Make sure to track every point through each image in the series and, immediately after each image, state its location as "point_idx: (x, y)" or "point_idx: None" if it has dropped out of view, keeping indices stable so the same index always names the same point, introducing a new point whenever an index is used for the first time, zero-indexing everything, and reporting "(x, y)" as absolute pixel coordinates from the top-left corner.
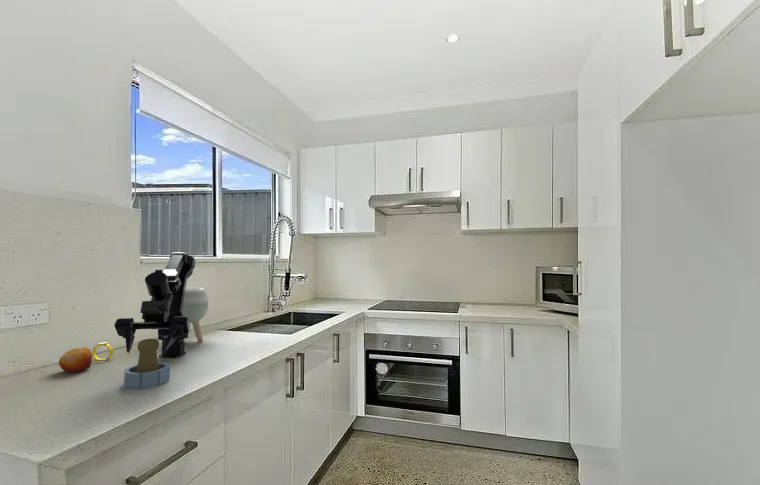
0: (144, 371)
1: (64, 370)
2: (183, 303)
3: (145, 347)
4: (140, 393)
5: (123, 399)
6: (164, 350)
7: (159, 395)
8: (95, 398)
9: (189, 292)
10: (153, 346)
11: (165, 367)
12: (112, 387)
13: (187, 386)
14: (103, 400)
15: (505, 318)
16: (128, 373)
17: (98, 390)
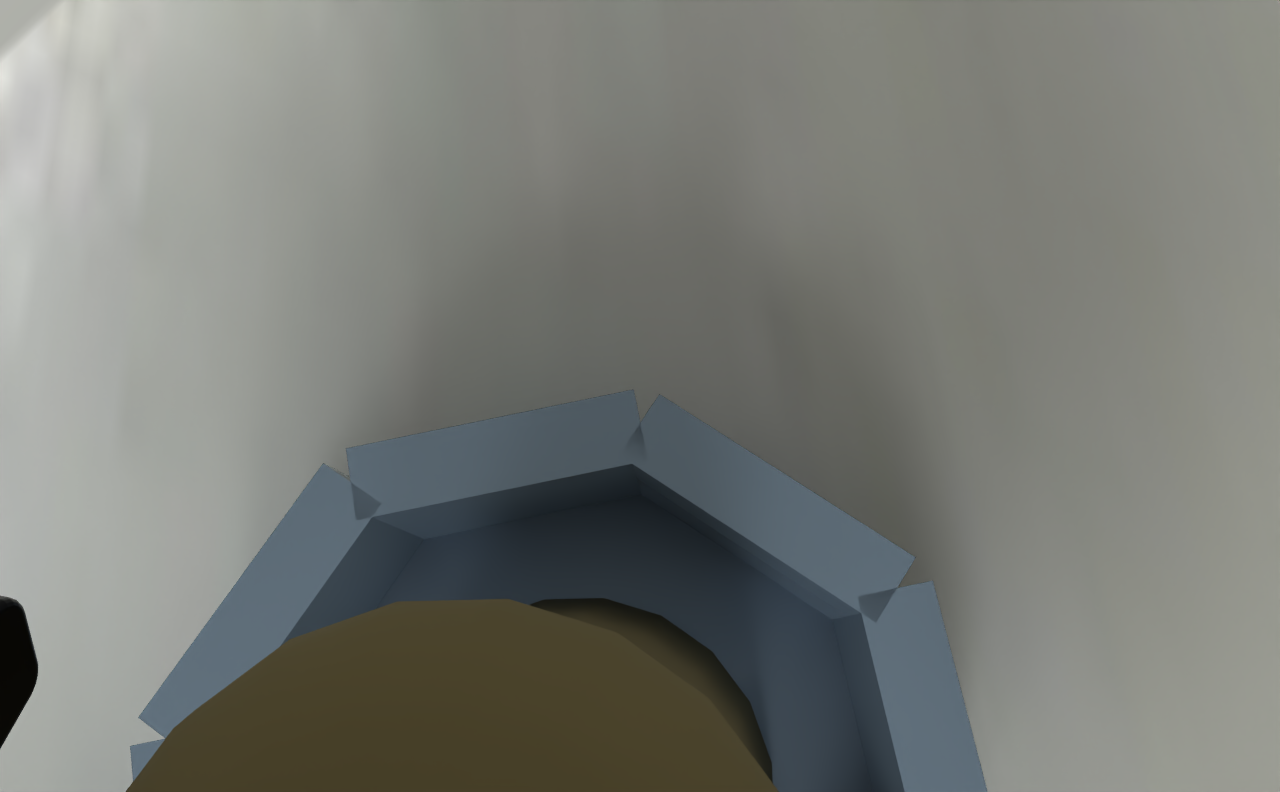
0: (603, 623)
1: None
2: None
3: (538, 614)
4: (633, 237)
5: (813, 89)
6: (34, 652)
7: (400, 51)
8: (1181, 286)
9: None
10: (283, 644)
11: (218, 664)
12: (1077, 735)
13: (41, 263)
14: (1053, 157)
15: None
16: (873, 534)
17: (1253, 666)
